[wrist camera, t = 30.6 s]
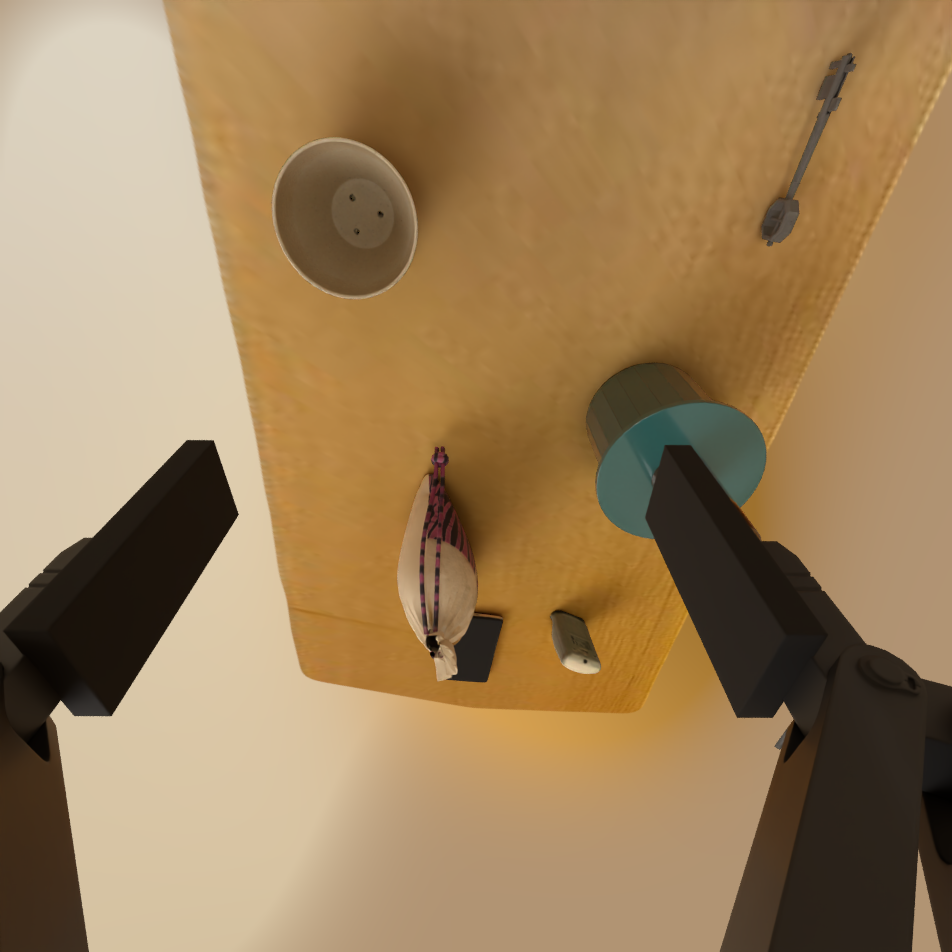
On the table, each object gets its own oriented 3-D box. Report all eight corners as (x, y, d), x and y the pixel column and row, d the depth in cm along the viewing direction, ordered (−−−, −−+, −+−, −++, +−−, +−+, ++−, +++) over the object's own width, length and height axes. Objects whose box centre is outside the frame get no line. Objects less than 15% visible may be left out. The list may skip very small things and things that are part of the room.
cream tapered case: (591, 605, 67) (604, 656, 60) (588, 630, 69) (600, 681, 63) (549, 607, 67) (558, 658, 60) (548, 631, 70) (556, 682, 63)
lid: (740, 365, 37) (820, 431, 28) (773, 494, 43) (845, 578, 35) (568, 443, 40) (594, 521, 32) (624, 550, 47) (657, 638, 39)
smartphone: (503, 620, 66) (487, 683, 75) (503, 613, 67) (486, 676, 75) (450, 615, 66) (439, 679, 74) (450, 608, 66) (439, 673, 75)
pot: (682, 341, 46) (731, 387, 37) (712, 434, 51) (760, 493, 43) (568, 396, 49) (589, 450, 40) (608, 478, 54) (634, 541, 46)
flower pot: (439, 263, 42) (433, 283, 36) (329, 289, 43) (306, 312, 37) (405, 122, 36) (392, 118, 30) (280, 156, 37) (244, 159, 31)
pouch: (488, 595, 65) (493, 738, 50) (428, 601, 66) (414, 744, 50) (460, 435, 51) (455, 564, 36) (384, 445, 52) (346, 575, 36)
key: (764, 243, 41) (785, 250, 38) (752, 241, 41) (773, 248, 38) (841, 58, 34) (873, 50, 31) (827, 56, 34) (859, 47, 31)
